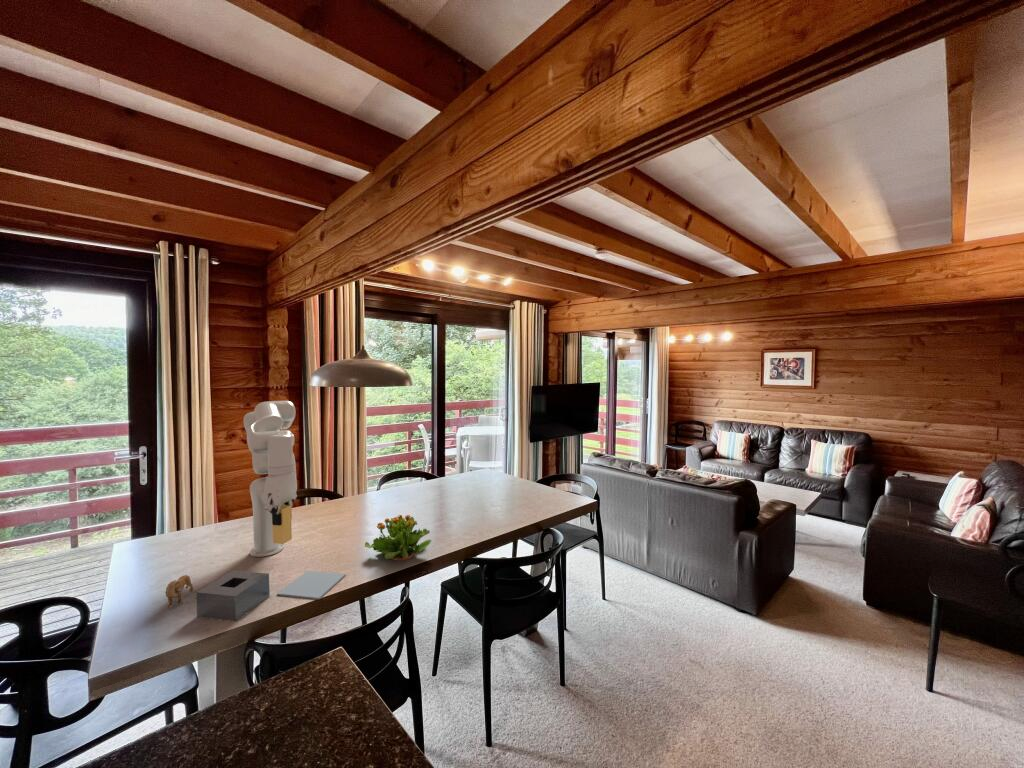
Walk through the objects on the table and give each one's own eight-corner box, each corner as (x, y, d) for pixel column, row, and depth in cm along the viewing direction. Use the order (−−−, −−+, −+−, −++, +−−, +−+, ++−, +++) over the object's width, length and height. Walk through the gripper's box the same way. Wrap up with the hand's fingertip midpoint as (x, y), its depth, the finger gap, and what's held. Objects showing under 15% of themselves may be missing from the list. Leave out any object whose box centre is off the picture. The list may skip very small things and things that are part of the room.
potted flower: (411, 538, 188) (411, 500, 187) (446, 553, 173) (445, 512, 172) (361, 558, 169) (360, 516, 168) (395, 576, 154) (394, 531, 153)
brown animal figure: (183, 609, 134) (182, 582, 133) (162, 613, 131) (161, 586, 131) (195, 587, 147) (194, 562, 146) (176, 590, 144) (175, 565, 144)
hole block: (233, 592, 143) (233, 570, 143) (269, 596, 141) (269, 573, 140) (197, 617, 129) (196, 592, 129) (236, 621, 127) (235, 596, 127)
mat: (307, 572, 157) (307, 570, 157) (345, 575, 155) (345, 574, 155) (276, 595, 141) (276, 593, 141) (319, 599, 139) (319, 597, 139)
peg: (281, 538, 144) (280, 504, 144) (291, 539, 144) (290, 505, 143) (273, 543, 141) (272, 508, 140) (283, 544, 140) (282, 509, 139)
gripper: (288, 463, 150) (290, 513, 151) (251, 475, 134) (253, 531, 134) (307, 464, 148) (308, 514, 149) (271, 477, 132) (273, 532, 133)
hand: (282, 521), depth 142 cm, fingers closed on peg, 4 cm apart
